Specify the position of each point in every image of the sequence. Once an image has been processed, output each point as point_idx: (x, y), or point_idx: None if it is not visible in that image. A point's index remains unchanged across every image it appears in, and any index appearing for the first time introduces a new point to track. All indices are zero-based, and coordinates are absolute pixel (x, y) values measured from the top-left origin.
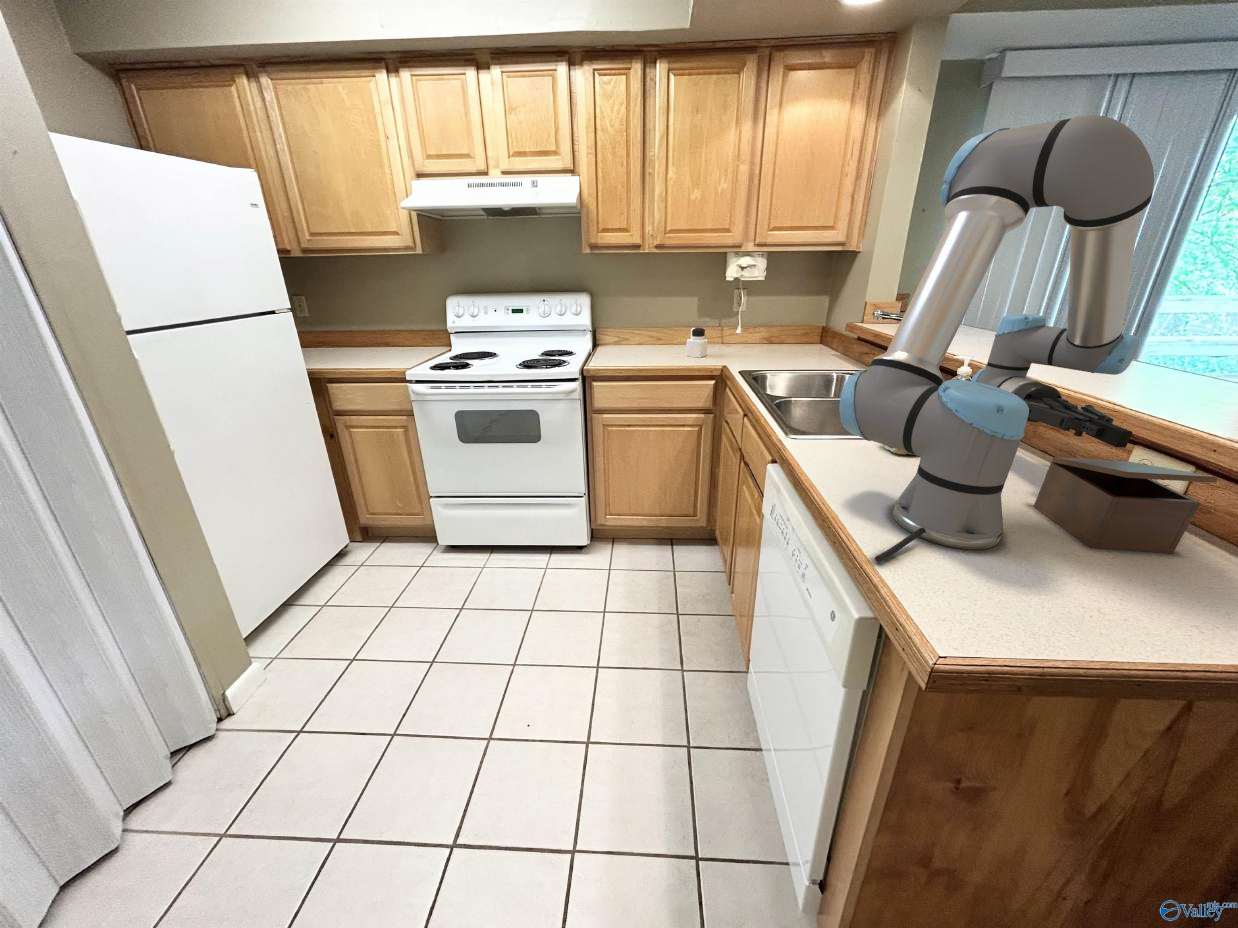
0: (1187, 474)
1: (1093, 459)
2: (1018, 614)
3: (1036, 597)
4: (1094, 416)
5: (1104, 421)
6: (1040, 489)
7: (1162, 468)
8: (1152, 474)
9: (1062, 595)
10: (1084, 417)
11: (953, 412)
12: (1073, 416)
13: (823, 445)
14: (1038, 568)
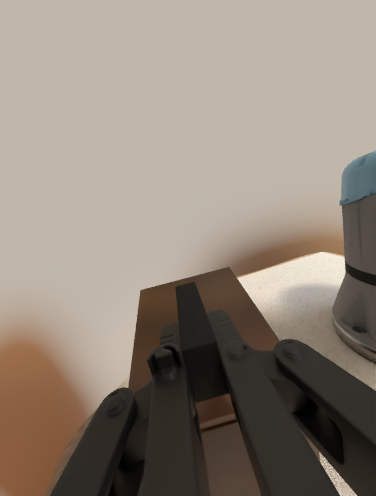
0: (163, 288)
1: (211, 410)
2: (298, 273)
3: (291, 284)
4: (166, 416)
5: (186, 329)
6: (319, 459)
7: (148, 329)
8: (204, 274)
9: (277, 290)
10: (236, 350)
11: None
12: (275, 392)
13: None
14: (292, 306)
